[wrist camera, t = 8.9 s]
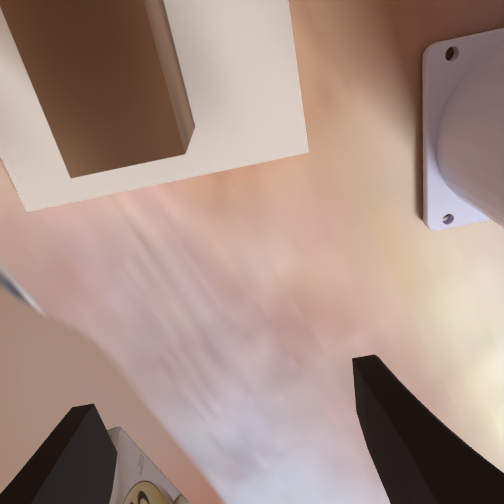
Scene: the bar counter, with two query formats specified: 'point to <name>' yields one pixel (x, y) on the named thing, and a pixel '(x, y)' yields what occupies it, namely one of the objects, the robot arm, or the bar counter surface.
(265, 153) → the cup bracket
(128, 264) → the bar counter surface
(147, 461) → the coffee box
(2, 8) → the rail
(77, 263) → the bar counter surface
